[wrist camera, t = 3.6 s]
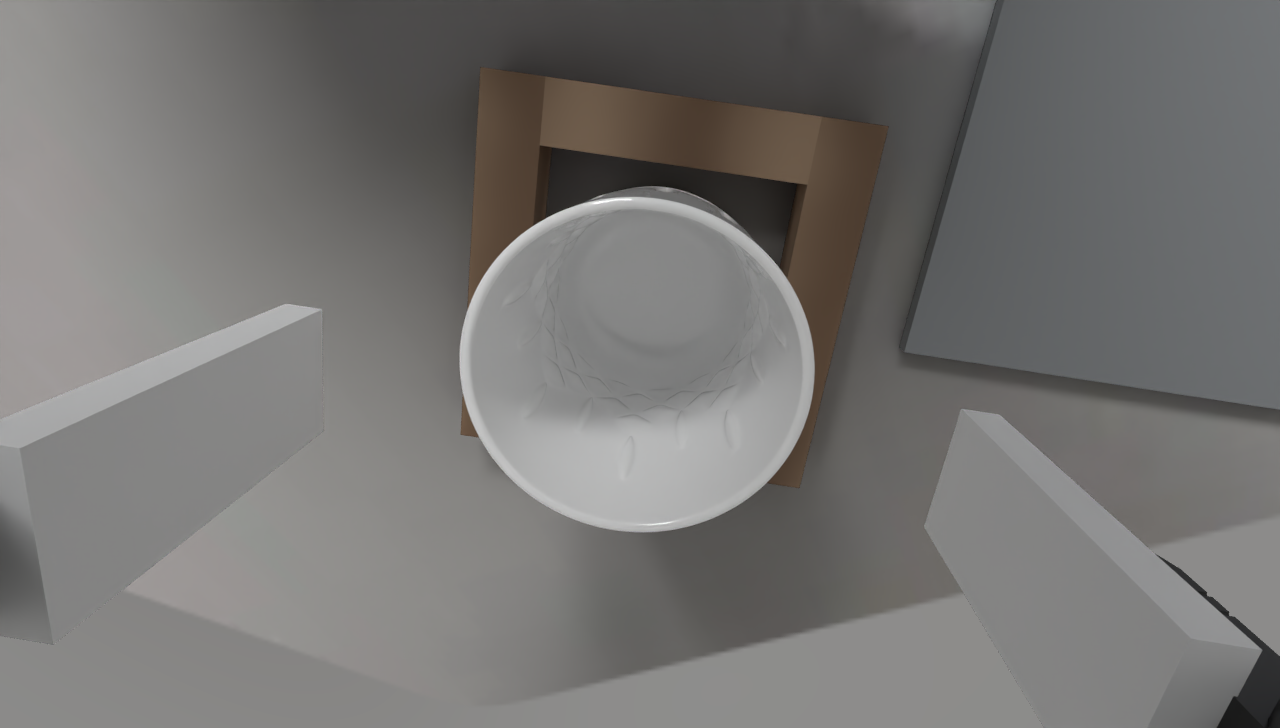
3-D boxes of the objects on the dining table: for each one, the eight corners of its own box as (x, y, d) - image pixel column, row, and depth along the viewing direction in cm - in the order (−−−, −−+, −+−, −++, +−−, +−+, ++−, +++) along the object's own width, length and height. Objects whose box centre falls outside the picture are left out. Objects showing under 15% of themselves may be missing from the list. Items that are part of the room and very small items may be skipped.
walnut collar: (476, 413, 27) (460, 434, 25) (498, 72, 22) (479, 66, 21) (791, 462, 26) (799, 488, 24) (871, 126, 22) (888, 126, 20)
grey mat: (899, 347, 25) (904, 352, 24) (1026, -105, 20) (1035, -112, 19) (1291, 407, 24) (1306, 413, 24) (1514, -38, 20) (1539, -43, 19)
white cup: (588, 133, 23) (515, 138, 14) (804, 217, 23) (879, 279, 14) (521, 341, 26) (421, 466, 16) (717, 413, 26) (730, 577, 17)
